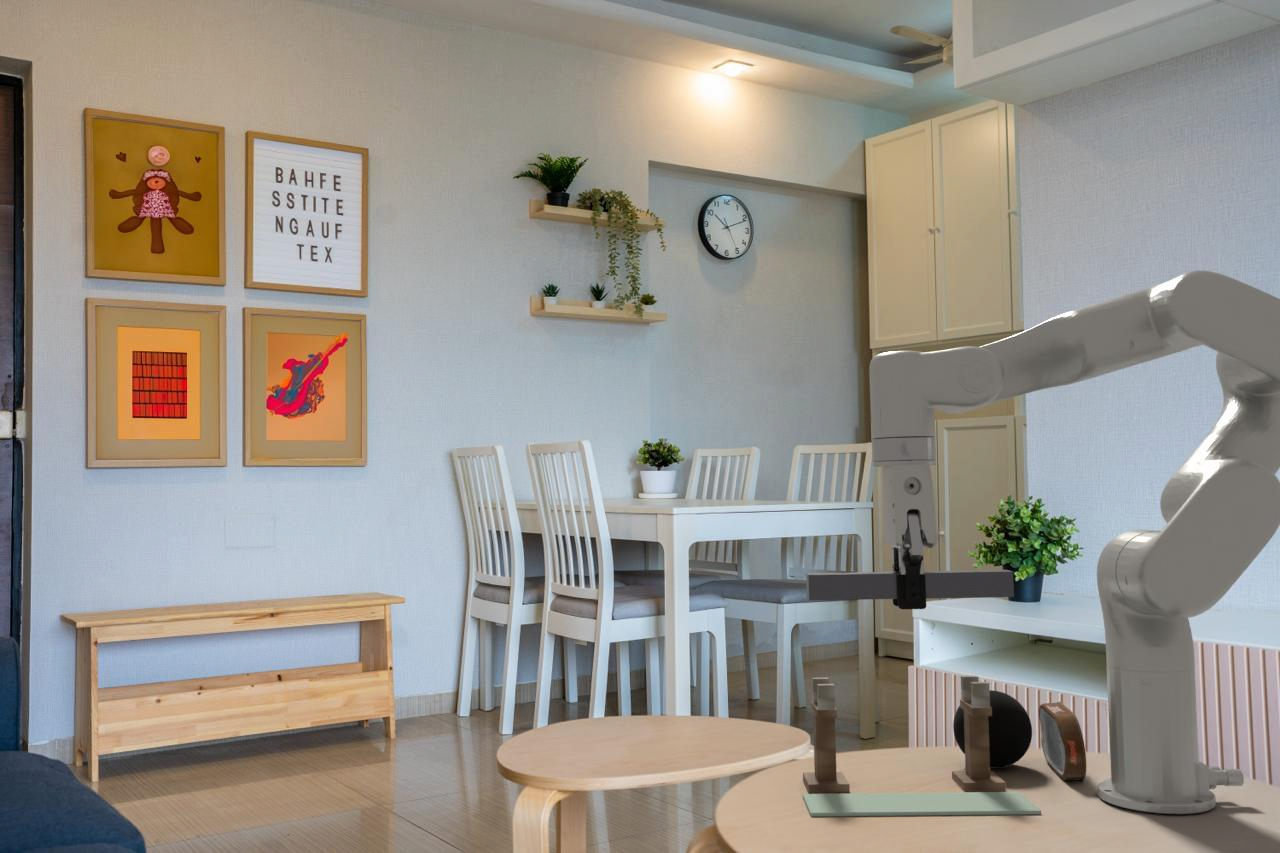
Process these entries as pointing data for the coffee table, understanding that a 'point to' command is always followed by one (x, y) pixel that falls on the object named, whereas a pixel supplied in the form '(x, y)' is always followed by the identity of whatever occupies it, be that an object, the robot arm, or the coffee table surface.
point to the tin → (1062, 741)
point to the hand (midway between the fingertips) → (909, 605)
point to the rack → (972, 779)
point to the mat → (919, 804)
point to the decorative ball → (1001, 730)
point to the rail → (886, 587)
